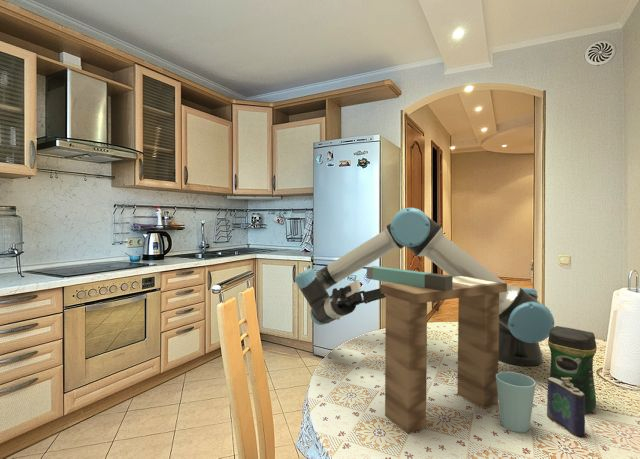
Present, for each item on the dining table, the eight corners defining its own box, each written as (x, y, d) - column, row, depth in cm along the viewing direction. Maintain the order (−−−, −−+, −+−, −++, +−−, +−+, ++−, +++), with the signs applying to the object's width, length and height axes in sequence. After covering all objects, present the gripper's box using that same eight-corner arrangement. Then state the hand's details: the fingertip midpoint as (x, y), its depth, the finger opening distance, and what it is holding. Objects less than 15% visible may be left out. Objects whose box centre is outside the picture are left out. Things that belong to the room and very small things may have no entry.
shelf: (465, 387, 98) (466, 275, 97) (505, 407, 87) (507, 282, 87) (379, 411, 86) (380, 283, 85) (414, 438, 75) (415, 292, 74)
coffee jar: (599, 406, 88) (601, 330, 88) (590, 417, 83) (592, 337, 82) (553, 392, 95) (555, 321, 95) (543, 401, 90) (544, 327, 90)
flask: (543, 415, 84) (544, 369, 84) (555, 414, 85) (556, 368, 84) (577, 439, 75) (578, 387, 75) (590, 437, 75) (591, 386, 75)
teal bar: (374, 277, 95) (374, 266, 95) (452, 289, 79) (452, 275, 79) (366, 278, 93) (366, 266, 93) (445, 291, 77) (445, 277, 77)
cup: (543, 430, 78) (543, 382, 78) (518, 439, 75) (519, 389, 74) (511, 413, 85) (512, 369, 85) (487, 421, 82) (488, 375, 81)
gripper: (374, 314, 121) (416, 296, 104) (307, 318, 109) (343, 299, 93) (369, 292, 124) (410, 271, 107) (304, 293, 112) (338, 271, 95)
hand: (379, 284), depth 100 cm, fingers open, 13 cm apart
